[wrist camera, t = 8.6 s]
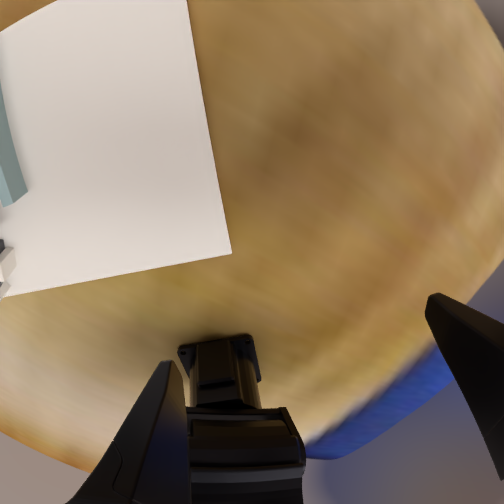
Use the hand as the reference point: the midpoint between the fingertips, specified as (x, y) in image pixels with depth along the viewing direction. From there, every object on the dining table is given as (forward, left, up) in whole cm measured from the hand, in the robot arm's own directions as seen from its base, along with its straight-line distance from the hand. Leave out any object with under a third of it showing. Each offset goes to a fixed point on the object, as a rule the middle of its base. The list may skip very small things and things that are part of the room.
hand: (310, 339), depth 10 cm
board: (+7, +14, -12) cm, 19 cm away
